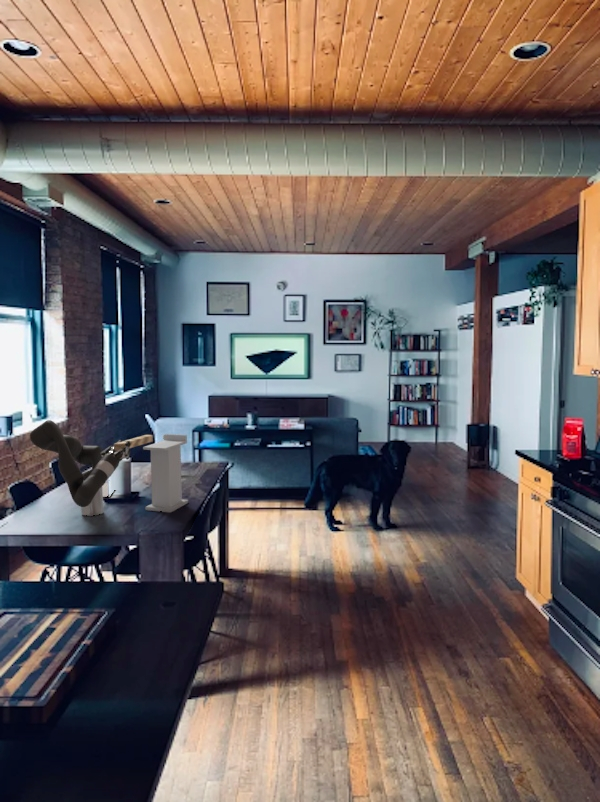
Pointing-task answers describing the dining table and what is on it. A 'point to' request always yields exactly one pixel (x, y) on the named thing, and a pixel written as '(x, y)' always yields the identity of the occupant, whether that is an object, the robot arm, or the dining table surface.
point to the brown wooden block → (134, 441)
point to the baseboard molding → (105, 489)
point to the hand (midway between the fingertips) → (125, 441)
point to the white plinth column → (166, 473)
